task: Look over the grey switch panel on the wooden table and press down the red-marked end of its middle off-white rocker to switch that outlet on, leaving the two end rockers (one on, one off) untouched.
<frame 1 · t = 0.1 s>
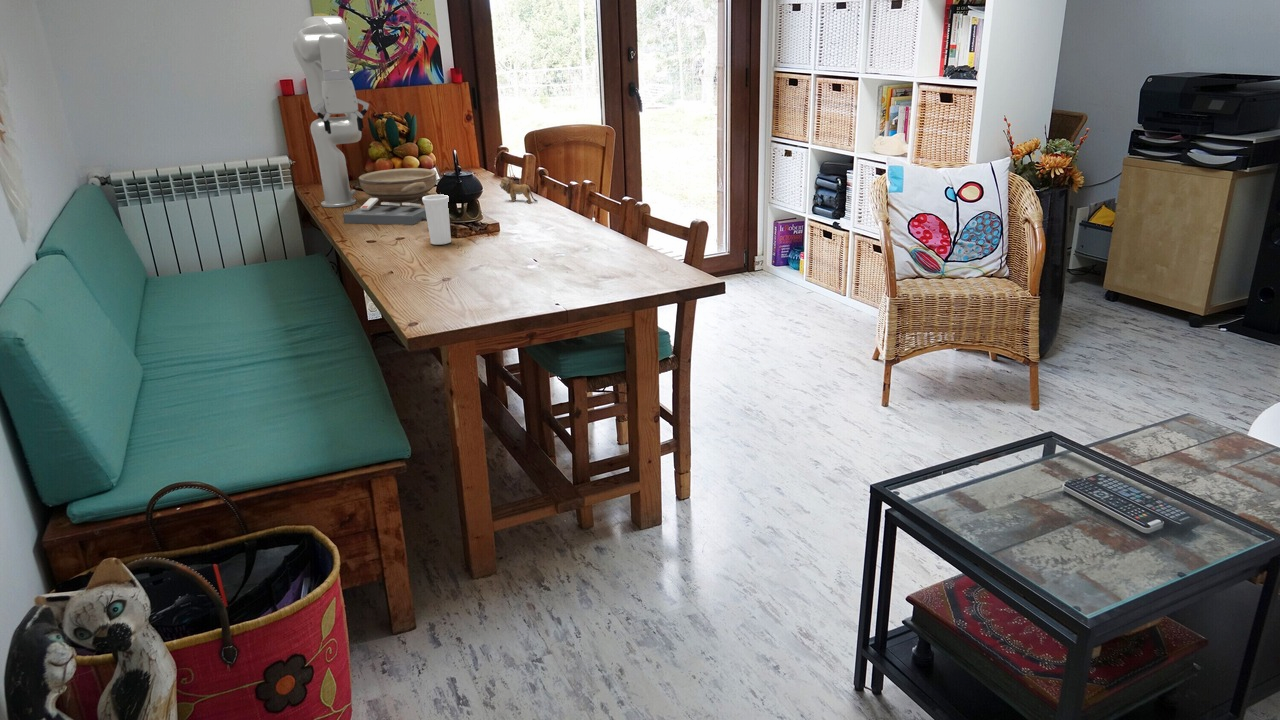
hand: (345, 132, 278), 31 cm above the table, tool pointing down, fingers open, 9 cm apart
middle rocker: (390, 204, 301), point 5 cm above the table, hinge at -15.0°
cup: (441, 243, 266), on the table
ceramic bowl: (401, 201, 331), on the table
far-end rocker: (369, 203, 302), point 5 cm above the table, hinge at 15.0°
lion figurine: (518, 202, 321), on the table
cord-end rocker: (411, 204, 299), point 5 cm above the table, hinge at -15.0°
grey switch panel: (388, 219, 300), on the table
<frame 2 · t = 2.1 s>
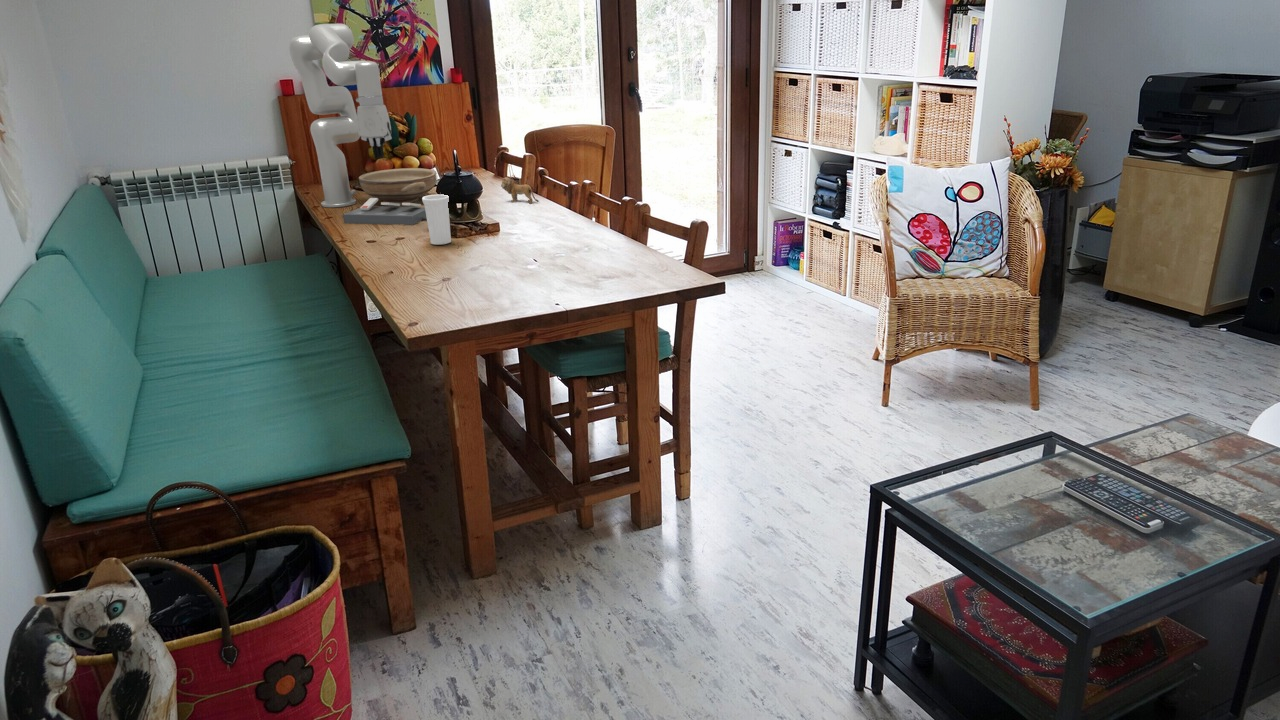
hand: (379, 157, 292), 21 cm above the table, tool pointing down, fingers closed
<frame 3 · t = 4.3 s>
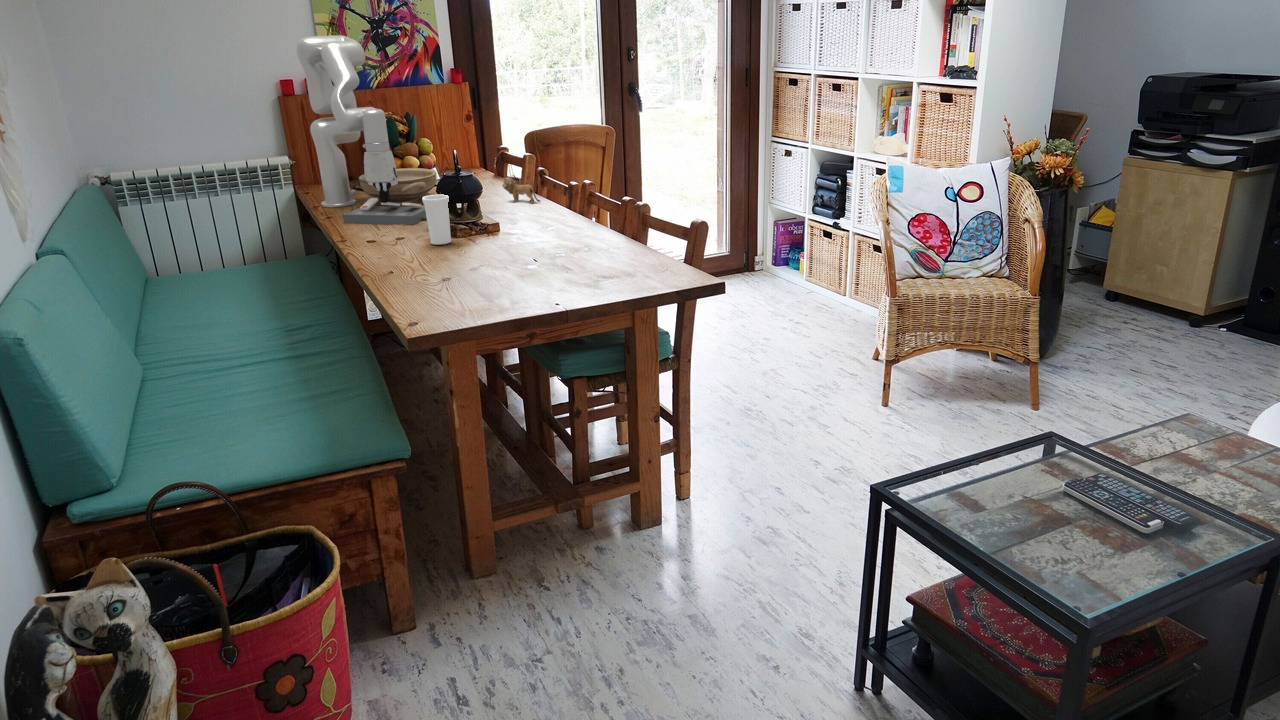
hand: (385, 201, 297), 6 cm above the table, tool pointing down, fingers closed
middle rocker: (390, 204, 301), point 5 cm above the table, hinge at -15.0°, touching gripper
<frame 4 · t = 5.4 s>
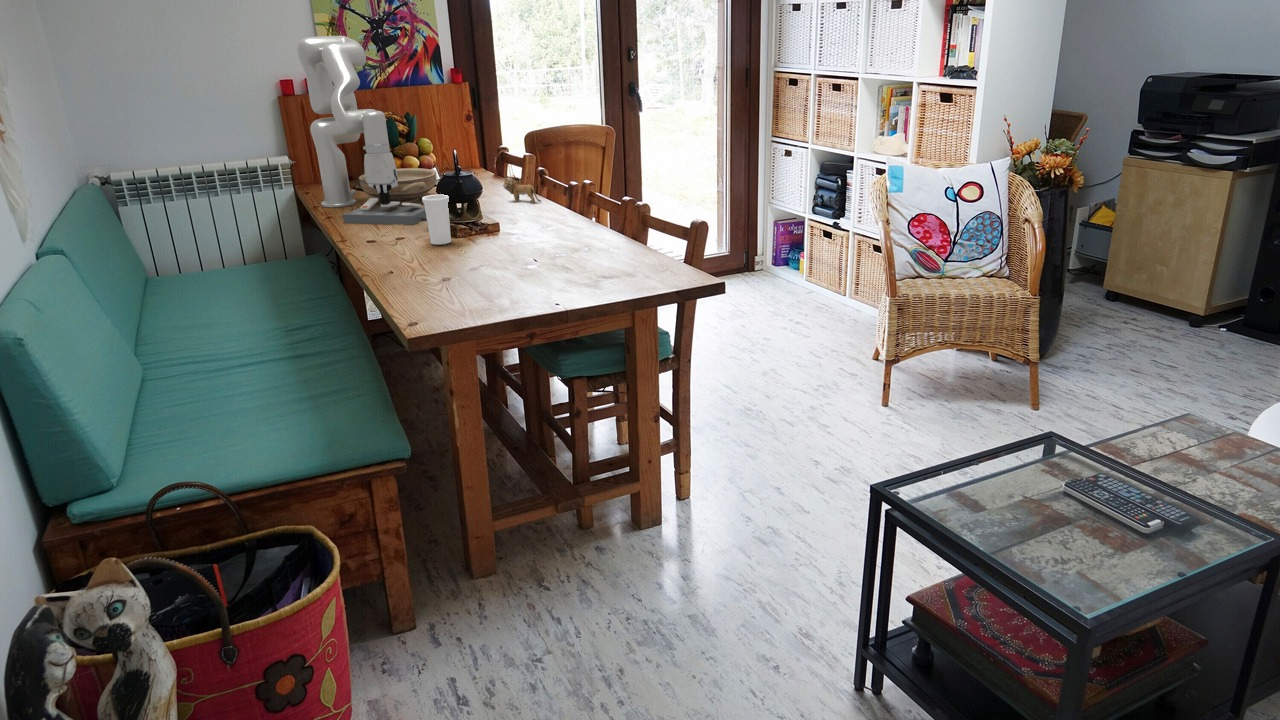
hand: (385, 203, 297), 6 cm above the table, tool pointing down, fingers closed
middle rocker: (390, 204, 300), point 5 cm above the table, hinge at -4.6°, touching gripper
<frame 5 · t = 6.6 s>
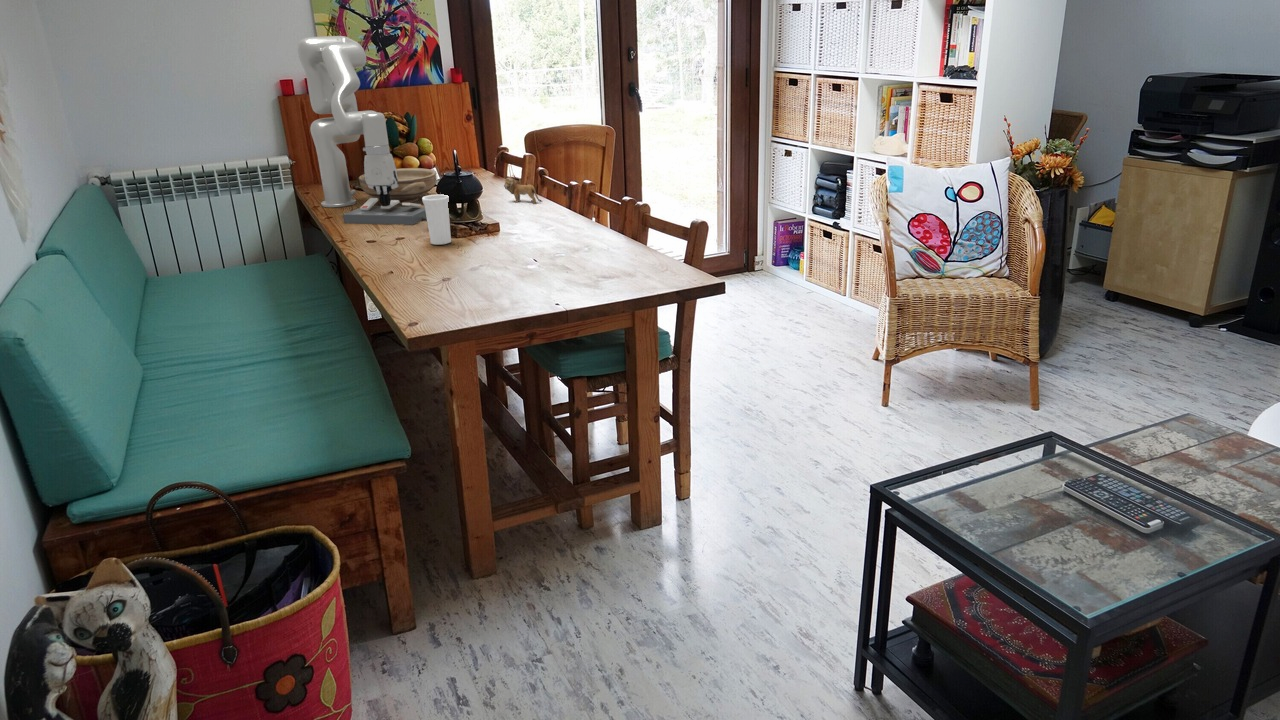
hand: (385, 205, 297), 5 cm above the table, tool pointing down, fingers closed
middle rocker: (390, 204, 300), point 5 cm above the table, hinge at 4.1°, touching gripper
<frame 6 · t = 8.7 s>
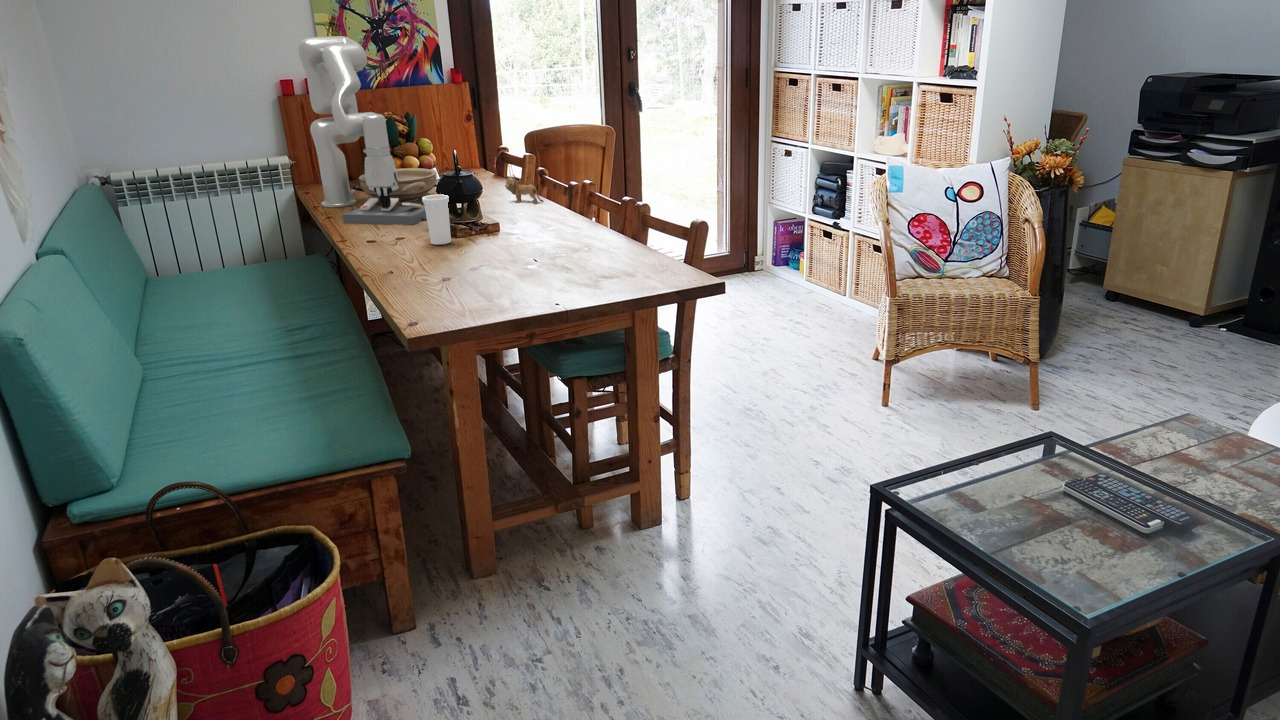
hand: (386, 206, 297), 5 cm above the table, tool pointing down, fingers closed
middle rocker: (389, 204, 300), point 5 cm above the table, hinge at 16.8°, touching gripper
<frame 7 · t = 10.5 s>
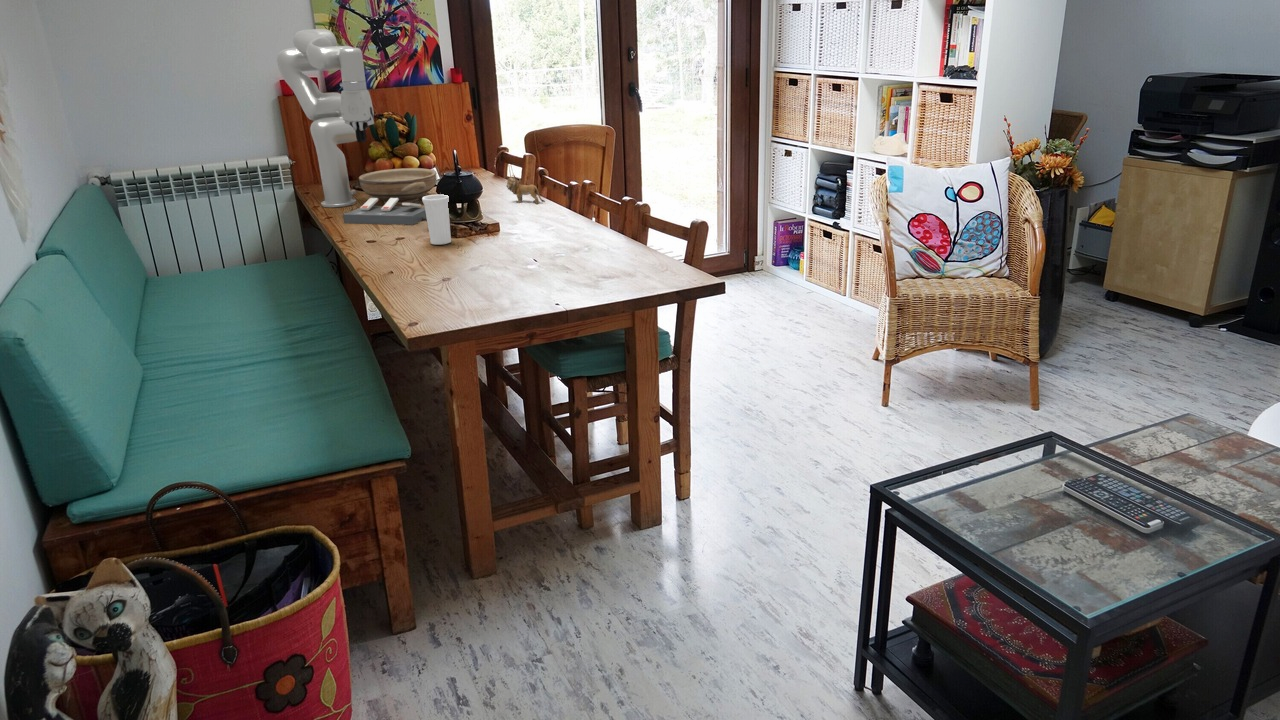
hand: (361, 141, 300), 25 cm above the table, tool pointing down, fingers closed
middle rocker: (389, 204, 300), point 5 cm above the table, hinge at 18.3°
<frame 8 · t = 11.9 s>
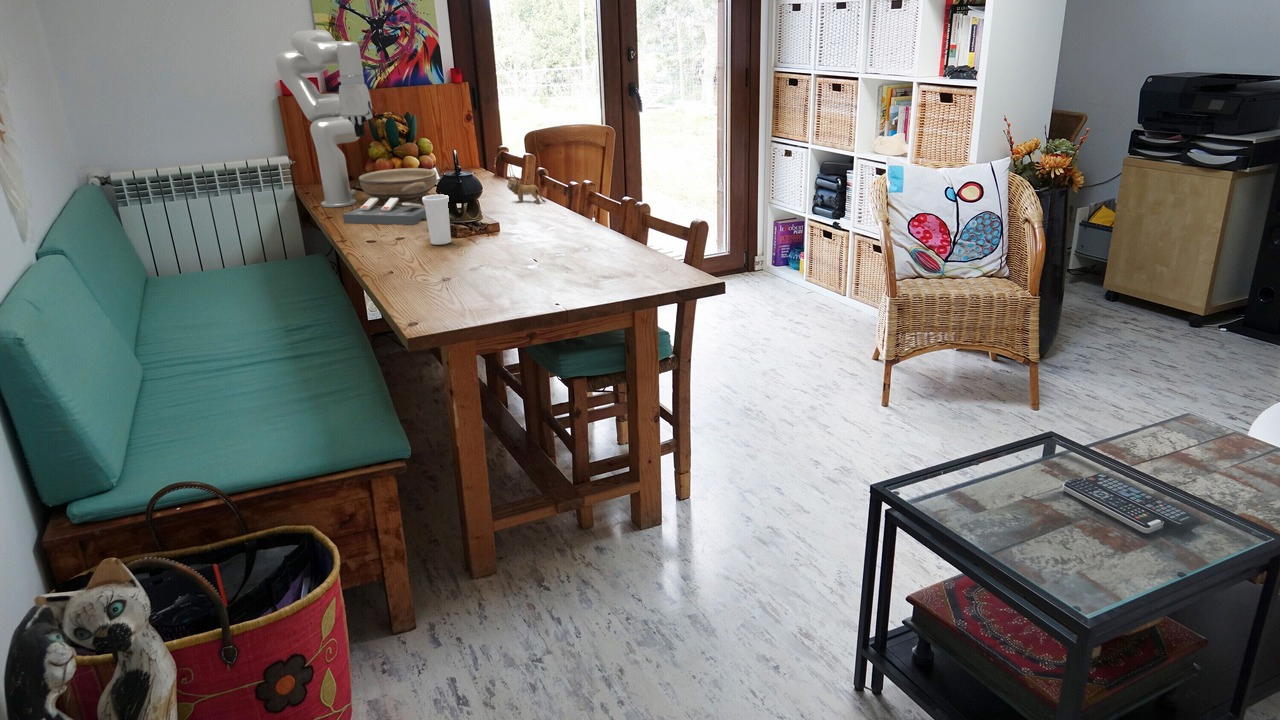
hand: (360, 136, 300), 27 cm above the table, tool pointing down, fingers closed
middle rocker: (389, 204, 300), point 5 cm above the table, hinge at 18.7°
at the end: middle rocker at +19° (first picture: -15°); far-end rocker at +15° (first picture: +15°); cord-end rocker at -15° (first picture: -15°) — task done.
